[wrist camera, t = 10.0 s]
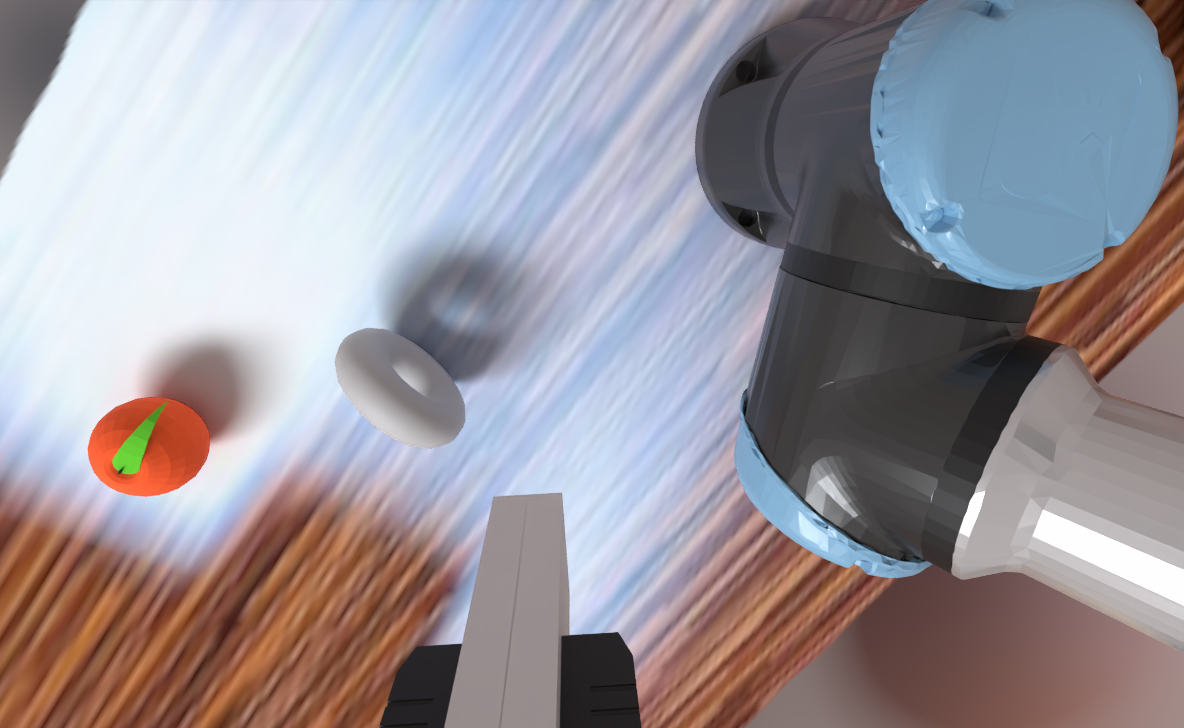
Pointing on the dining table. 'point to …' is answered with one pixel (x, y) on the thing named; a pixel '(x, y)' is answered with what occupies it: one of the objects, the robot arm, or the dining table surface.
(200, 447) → the clementine
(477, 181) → the dining table surface
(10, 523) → the dining table surface
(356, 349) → the donut
